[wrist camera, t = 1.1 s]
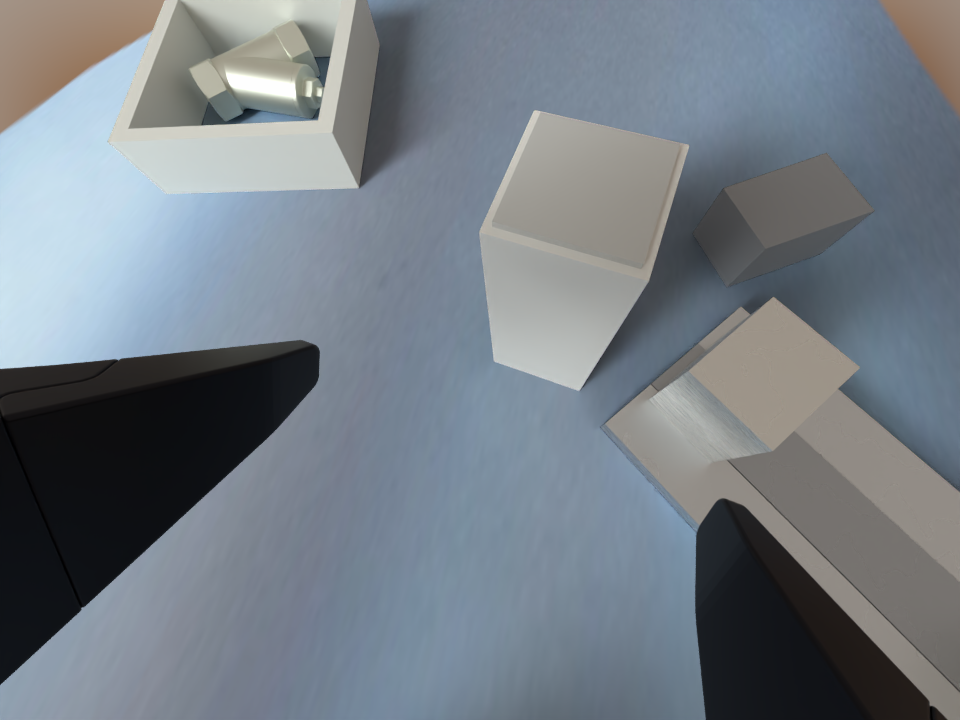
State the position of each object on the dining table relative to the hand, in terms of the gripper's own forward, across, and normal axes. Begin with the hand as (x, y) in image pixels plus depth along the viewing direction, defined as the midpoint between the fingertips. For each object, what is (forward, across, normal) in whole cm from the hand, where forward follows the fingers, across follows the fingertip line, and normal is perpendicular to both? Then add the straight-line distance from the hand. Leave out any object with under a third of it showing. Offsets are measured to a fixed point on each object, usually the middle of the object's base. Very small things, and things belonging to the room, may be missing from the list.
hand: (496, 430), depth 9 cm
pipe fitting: (+23, +25, -4) cm, 35 cm away
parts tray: (+22, +25, -4) cm, 33 cm away
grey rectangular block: (+22, -9, -3) cm, 24 cm away
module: (+15, 0, +4) cm, 16 cm away
